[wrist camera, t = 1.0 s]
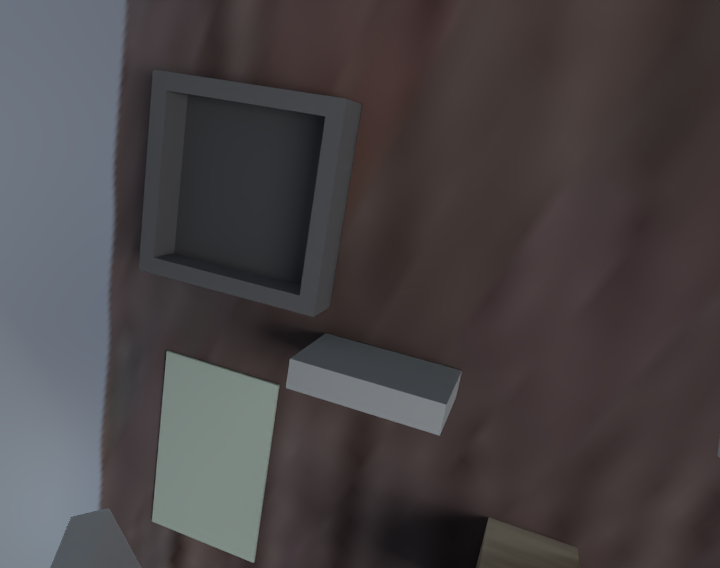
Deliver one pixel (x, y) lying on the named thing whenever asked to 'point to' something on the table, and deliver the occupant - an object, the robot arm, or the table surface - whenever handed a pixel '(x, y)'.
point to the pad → (213, 453)
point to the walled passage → (376, 381)
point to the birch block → (523, 549)
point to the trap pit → (247, 188)
